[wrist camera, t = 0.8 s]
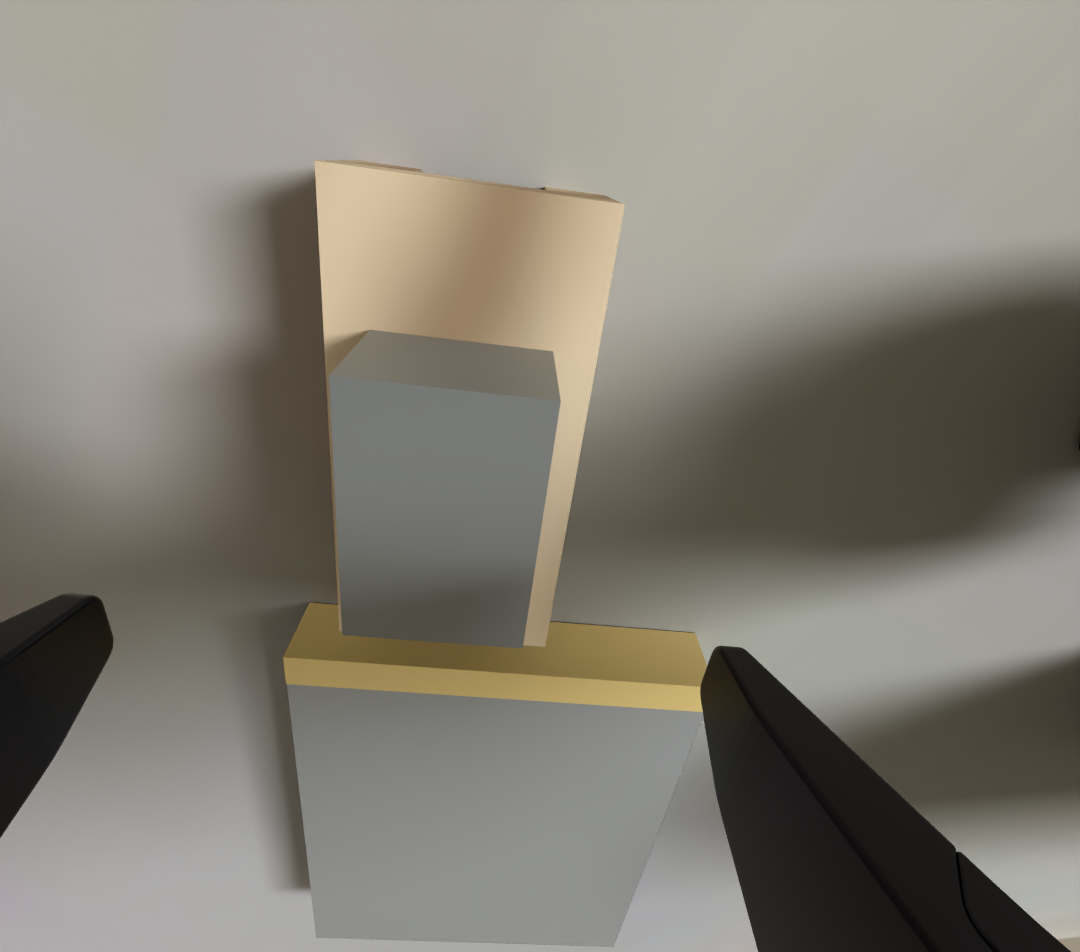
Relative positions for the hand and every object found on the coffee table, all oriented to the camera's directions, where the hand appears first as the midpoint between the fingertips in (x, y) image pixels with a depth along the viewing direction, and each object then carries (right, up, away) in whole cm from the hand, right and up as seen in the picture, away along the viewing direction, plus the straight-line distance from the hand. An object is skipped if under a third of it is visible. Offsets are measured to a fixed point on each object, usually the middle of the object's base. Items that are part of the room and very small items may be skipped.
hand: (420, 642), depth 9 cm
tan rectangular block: (0, +5, +8) cm, 10 cm away
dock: (-1, -10, +16) cm, 20 cm away
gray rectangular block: (0, +3, +5) cm, 6 cm away
